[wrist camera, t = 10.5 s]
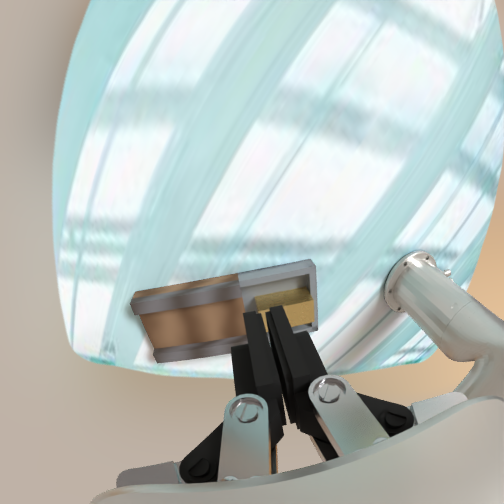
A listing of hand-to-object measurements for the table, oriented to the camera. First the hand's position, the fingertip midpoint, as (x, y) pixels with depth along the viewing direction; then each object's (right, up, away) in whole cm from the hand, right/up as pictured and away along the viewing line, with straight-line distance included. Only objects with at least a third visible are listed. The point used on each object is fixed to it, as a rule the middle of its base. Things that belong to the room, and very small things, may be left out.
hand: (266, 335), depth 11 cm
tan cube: (+6, -4, +31) cm, 32 cm away
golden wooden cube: (+2, -5, +31) cm, 32 cm away
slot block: (-10, -6, +31) cm, 33 cm away
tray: (+4, -4, +32) cm, 32 cm away
